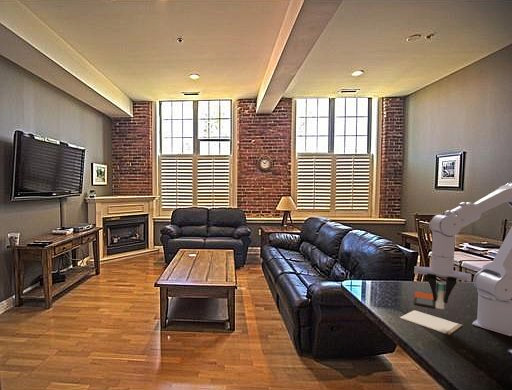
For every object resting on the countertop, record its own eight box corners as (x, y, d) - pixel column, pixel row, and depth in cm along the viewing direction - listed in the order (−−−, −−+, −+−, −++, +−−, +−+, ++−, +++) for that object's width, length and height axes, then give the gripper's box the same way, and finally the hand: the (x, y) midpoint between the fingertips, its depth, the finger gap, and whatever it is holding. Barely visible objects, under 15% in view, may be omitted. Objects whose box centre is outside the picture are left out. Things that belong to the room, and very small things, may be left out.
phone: (434, 294, 123) (435, 306, 110) (434, 297, 123) (435, 310, 110) (415, 291, 126) (413, 302, 113) (414, 294, 126) (413, 306, 113)
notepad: (462, 325, 96) (462, 324, 96) (449, 335, 90) (449, 333, 90) (414, 311, 107) (414, 310, 107) (399, 318, 100) (399, 317, 100)
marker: (444, 307, 97) (445, 283, 96) (444, 309, 94) (446, 286, 94) (435, 305, 98) (436, 282, 98) (435, 308, 96) (436, 284, 95)
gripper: (470, 256, 96) (468, 302, 96) (416, 250, 103) (414, 292, 103) (473, 261, 89) (470, 309, 90) (414, 253, 97) (412, 299, 97)
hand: (440, 301), depth 96 cm, fingers closed on marker, 2 cm apart
